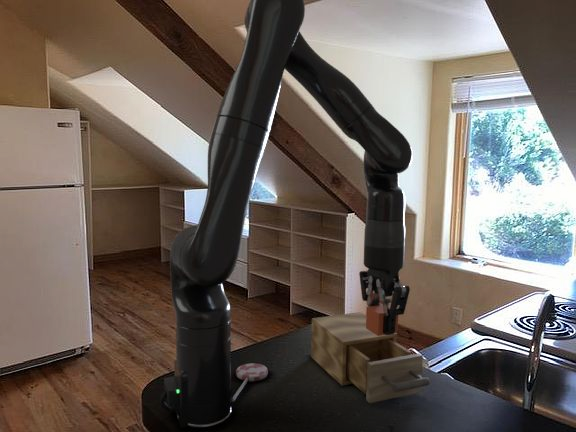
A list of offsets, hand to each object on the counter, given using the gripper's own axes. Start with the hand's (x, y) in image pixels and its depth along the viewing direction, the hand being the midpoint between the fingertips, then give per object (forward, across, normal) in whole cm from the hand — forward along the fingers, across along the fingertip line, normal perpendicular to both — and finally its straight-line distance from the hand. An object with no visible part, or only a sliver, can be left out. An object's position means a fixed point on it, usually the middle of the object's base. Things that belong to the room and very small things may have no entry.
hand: (381, 329), depth 92 cm
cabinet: (+12, +11, 0) cm, 16 cm away
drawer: (+11, -1, 0) cm, 11 cm away
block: (0, 0, 0) cm, 0 cm away
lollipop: (+12, +11, +24) cm, 29 cm away
